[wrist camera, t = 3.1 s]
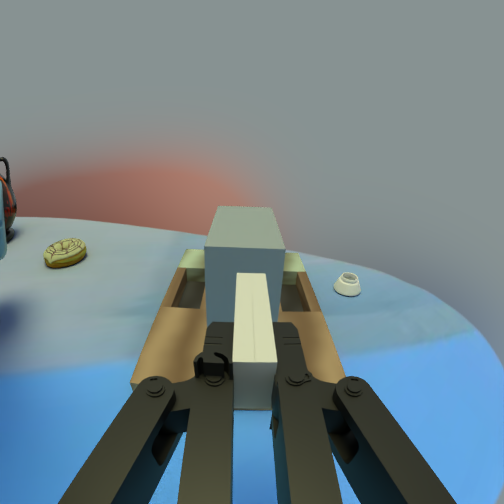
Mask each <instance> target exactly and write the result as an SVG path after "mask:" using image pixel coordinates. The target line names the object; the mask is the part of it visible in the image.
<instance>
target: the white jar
mask: <svg viewBox="0 0 504 504" xmlns="http://www.w3.org/2000/svg"><path fill="white" fill-rule="evenodd" d="M334 289H335V290H336V291H337V292H338V293H340V294H342V295H345V296H356V295H358V294H359V293H360V292H361V288H360V284H359V280H358V277H357V276H356V275H355V274H353V273H343V274H342V275H341V277H339V279H338V280H337V281H336V282H335V284H334Z"/></svg>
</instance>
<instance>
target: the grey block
mask: <svg viewBox="0 0 504 504" xmlns="http://www.w3.org/2000/svg"><path fill="white" fill-rule="evenodd" d="M285 250H286V249H285V246H284V243H283V240H282V237H281V234H280V231H279V228H278V225H277V222H276V219H275V216H274V213H273V211H272V208H261V207H236V206H218V208H217V211H216V214H215V217H214V220H213V222H212V226H211V228H210V231H209V234H208V237H207V240H206V243H205V246H204V259H205V293H206V317H207V327H208V326H209V325H210V324H211V323H212V321H213V322H234V317H235V297H236V279H237V273H264V274H266V281H267V289H268V296H269V303H270V310H271V318H272V322H278V314H279V305H280V297H281V288H282V279H283V270H284V260H285Z"/></svg>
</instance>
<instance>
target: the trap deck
mask: <svg viewBox="0 0 504 504" xmlns="http://www.w3.org/2000/svg"><path fill="white" fill-rule="evenodd" d="M278 322H292V323H293V324H294V326H295V327H296V328H297V329H298V333H299V337H300V341H301V345H302V349H303V353H304V357H305V361H306V365H307V369H308V371H309V372H311V373H312V375H313V377H315V378H316V379H319V380H321V381H325V382H330V383H336V384H337V383H338V381H339V380H340V379H342V378H344V377H346V376H345V373H344V370H343V367H342V365H341V362H340V359H339V356H338V354H337V351H336V348H335V345H334V343H333V340H332V337H331V335H330V332H329V329H328V327H327V324H326V322H325V319H324V316H323V314H322V311H321V309H320V306H319V304H318V301H317V298H316V296H315V293H314V291H313V288H312V286H311V283H310V281H309V278H308V276H307V274H306V271H305V269H304V266H303V264H302V261H301V259H300V256H299V254H298V253H285V260H284V270H283V279H282V288H281V297H280V305H279V314H278ZM206 329H207V317H206V293H205V259H204V250H194V249H186V251H185V253H184V255H183V257H182V259H181V261H180V264H179V266H178V268H177V270H176V272H175V275H174V277H173V279H172V281H171V283H170V286H169V288H168V290H167V292H166V295H165V297H164V299H163V302H162V304H161V306H160V308H159V311H158V313H157V315H156V318H155V320H154V323H153V325H152V327H151V330H150V332H149V335H148V337H147V340H146V342H145V344H144V347H143V349H142V352H141V355H140V357H139V360H138V362H137V365H136V367H135V370H134V373H133V375H132V378H131V380H130V385H131V387H132V390H133V391H134V390H135V388H136V387H137V386H138V384H139V383H140V382H141V381H142V380H143V379H145V378H147V377H150V376H162V377H165V378H167V379H169V380H170V381H171V382H172V383H177V382H182V381H186V380H189V379H191V378H193V377H194V376H195V372H194V365H193V361H194V359H195V357H196V356H197V355H198V354H199V353H201V352H203V346H204V340H205V335H206ZM234 410H272V404H271V408H267V409H244V408H234Z"/></svg>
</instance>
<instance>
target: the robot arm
mask: <svg viewBox="0 0 504 504" xmlns="http://www.w3.org/2000/svg"><path fill="white" fill-rule="evenodd" d="M6 252H7V243H6V232H5V221H4V208H3V191H2V183H1V181H0V260H1V259H3V258H4V257H5V255H6ZM193 365H194V372H195V376H194V377H193V378H191V379H189V380H186V381H182V382H177V383H172V382H171V381H170V380H169V379H167V378H165V377H162V376H150V377H147V378H145V379H143V380H142V381H141V382H140V383H139V384H138V386H137V387H136V388H135V390H134V391H133V393H132V394H131V396H130V397H129V399H128V400H127V401H126V403H125V404H124V406H123V407H122V409H121V410H120V412H119V413H118V414H117V416H116V417H115V419H114V420H113V422H112V423H111V425H110V426H109V428H108V429H107V431H106V432H105V433H104V435H103V436H102V438H101V439H100V441H99V442H98V444H97V445H96V447H95V448H94V450H93V451H92V453H91V454H90V456H89V457H88V459H87V460H86V462H85V463H84V465H83V466H82V468H81V469H80V471H79V472H78V474H77V475H76V477H75V478H74V480H73V481H72V483H71V484H70V486H69V487H68V489H67V490H66V492H65V493H64V495H63V496H62V498H61V499H60V501H59V503H58V504H149V502H150V500H151V498H152V495H153V493H154V491H155V489H156V487H157V485H158V483H159V481H160V479H161V477H162V475H163V473H164V471H165V469H166V467H167V465H168V463H169V461H170V459H171V457H172V455H173V453H174V451H175V449H176V447H177V445H178V442H179V440H180V438H181V436H182V434H183V432H187V434H186V441H185V448H184V455H183V462H182V470H181V477H180V485H179V493H178V502H177V504H232V485H233V423H234V414H233V412H234V408H244V409H267V408H271V404H272V418H271V424H270V429H272V436H273V449H274V461H275V474H276V487H277V500H278V504H343V503H342V498H341V493H340V488H339V483H338V479H337V474H336V469H335V465H334V460H333V456H332V453H333V455H334V456H335V458H336V460H337V462H338V464H339V466H340V467H341V469H342V471H343V473H344V475H345V476H346V478H347V480H348V482H349V484H350V485H351V487H352V489H353V491H354V493H355V494H356V496H357V498H358V500H359V501H360V503H361V504H457V503H456V502H455V501H454V499H453V498H452V496H451V495H450V494H449V492H448V491H447V489H446V488H445V487H444V485H443V484H442V482H441V481H440V480H439V478H438V477H437V476H436V474H435V473H434V471H433V470H432V469H431V467H430V466H429V465H428V463H427V462H426V460H425V459H424V458H423V456H422V455H421V454H420V452H419V451H418V450H417V448H416V447H415V446H414V444H413V443H412V441H411V440H410V439H409V437H408V436H407V435H406V433H405V432H404V431H403V429H402V428H401V427H400V425H399V424H398V423H397V421H396V420H395V419H394V417H393V416H392V415H391V413H390V412H389V411H388V409H387V408H386V407H385V405H384V404H383V403H382V401H381V400H380V399H379V397H378V396H377V395H376V393H375V392H374V391H373V389H372V388H371V387H370V385H369V384H368V383H367V382H366V381H365V380H363V379H361V378H359V377H354V376H349V377H344V378H342V379H340V380H339V381H338V383H337V384H336V383H330V382H325V381H321V380H319V379H316V378H315V377H313V375H312V373H311V372H309V371H308V369H307V365H306V361H305V357H304V353H303V349H302V345H301V341H300V337H299V333H298V329H297V328H296V327H295V326H294V324H293V323H292V322H272V318H271V310H270V303H269V296H268V289H267V281H266V274H264V273H237V279H236V297H235V317H234V322H213V321H212V323H211V324H210V325H209V326H208V327H207V329H206V335H205V340H204V346H203V352H201V353H199V354H198V355H197V356H196V357H195V359H194V361H193Z"/></svg>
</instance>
